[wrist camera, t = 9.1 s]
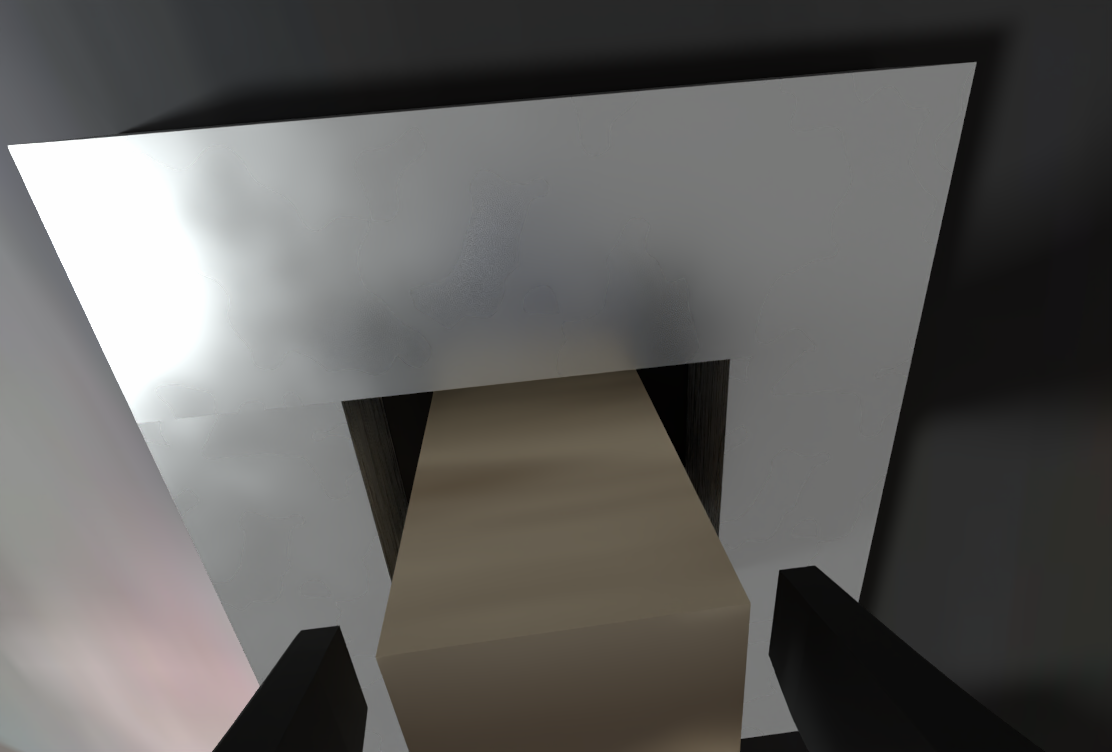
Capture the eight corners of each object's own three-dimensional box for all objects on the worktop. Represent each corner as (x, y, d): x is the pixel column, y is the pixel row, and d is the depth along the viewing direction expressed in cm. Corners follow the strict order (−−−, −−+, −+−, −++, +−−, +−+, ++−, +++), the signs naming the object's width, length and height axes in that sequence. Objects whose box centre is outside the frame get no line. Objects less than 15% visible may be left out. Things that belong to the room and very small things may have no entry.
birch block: (638, 514, 15) (735, 810, 9) (468, 538, 15) (445, 855, 9) (631, 360, 13) (750, 603, 7) (435, 385, 13) (375, 657, 7)
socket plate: (789, 647, 18) (831, 725, 16) (336, 707, 17) (312, 798, 15) (878, 68, 11) (976, 62, 9) (114, 134, 10) (7, 146, 8)
